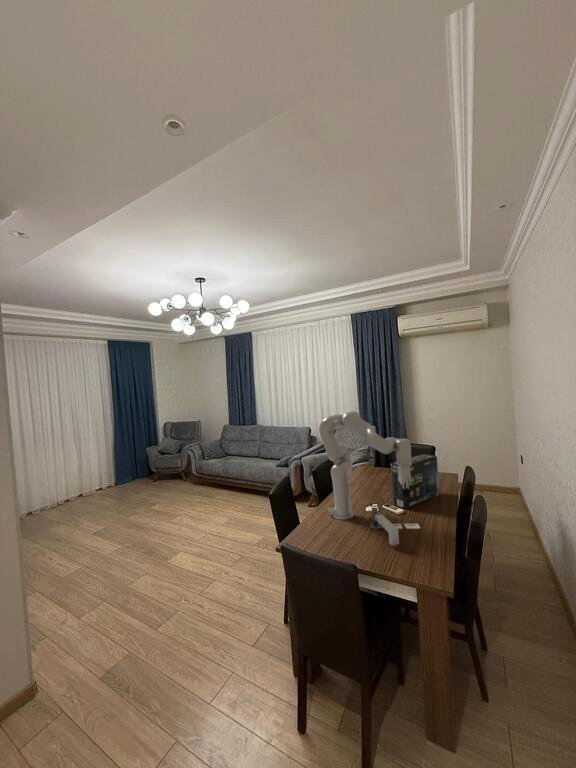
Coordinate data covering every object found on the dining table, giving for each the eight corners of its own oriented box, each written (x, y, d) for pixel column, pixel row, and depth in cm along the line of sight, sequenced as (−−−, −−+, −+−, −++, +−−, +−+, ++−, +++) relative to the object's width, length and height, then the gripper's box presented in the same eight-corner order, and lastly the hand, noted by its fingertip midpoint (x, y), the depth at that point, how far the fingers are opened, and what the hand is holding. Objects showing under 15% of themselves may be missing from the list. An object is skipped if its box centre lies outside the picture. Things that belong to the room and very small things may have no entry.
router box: (408, 510, 183) (404, 466, 183) (392, 505, 192) (389, 463, 193) (441, 495, 203) (437, 455, 203) (425, 491, 212) (422, 453, 212)
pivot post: (370, 529, 163) (369, 510, 163) (369, 524, 169) (368, 506, 169) (382, 529, 162) (380, 510, 162) (380, 524, 168) (379, 506, 168)
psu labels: (388, 528, 162) (388, 527, 162) (387, 524, 167) (387, 523, 167) (420, 528, 160) (420, 527, 160) (417, 524, 165) (417, 523, 165)
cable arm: (373, 526, 163) (372, 512, 163) (381, 525, 164) (379, 511, 164) (390, 545, 143) (389, 530, 143) (399, 544, 144) (398, 528, 144)
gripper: (394, 458, 172) (395, 491, 172) (399, 465, 157) (401, 501, 157) (408, 458, 171) (409, 491, 171) (414, 465, 156) (416, 501, 156)
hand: (405, 495), depth 164 cm, fingers closed
